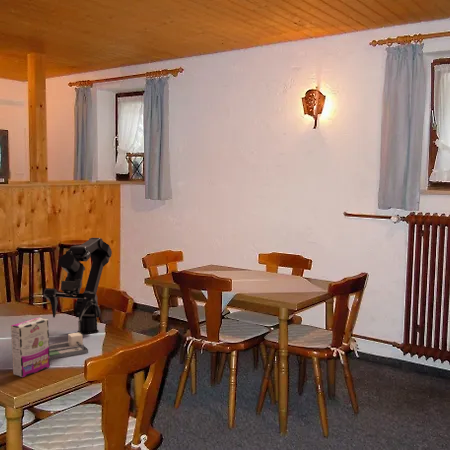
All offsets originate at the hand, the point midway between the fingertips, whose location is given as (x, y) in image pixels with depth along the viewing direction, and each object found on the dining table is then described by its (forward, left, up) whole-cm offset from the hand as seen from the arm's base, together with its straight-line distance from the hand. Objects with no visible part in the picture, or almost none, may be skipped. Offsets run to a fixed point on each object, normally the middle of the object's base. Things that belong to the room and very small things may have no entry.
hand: (66, 318), depth 196 cm
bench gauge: (+4, +1, -11) cm, 12 cm away
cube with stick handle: (-3, +3, -10) cm, 11 cm away
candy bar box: (+16, +15, -12) cm, 25 cm away
